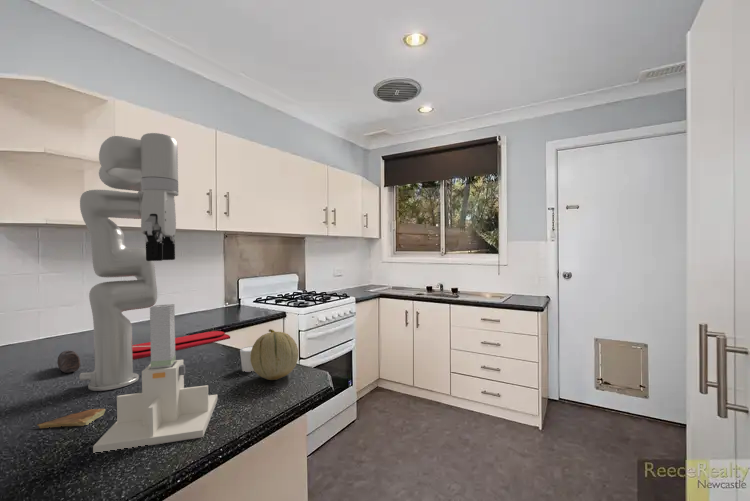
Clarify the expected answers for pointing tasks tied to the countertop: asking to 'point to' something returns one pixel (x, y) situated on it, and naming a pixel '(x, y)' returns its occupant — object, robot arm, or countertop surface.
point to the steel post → (162, 336)
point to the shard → (74, 419)
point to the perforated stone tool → (68, 361)
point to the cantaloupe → (274, 355)
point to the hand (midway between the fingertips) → (161, 260)
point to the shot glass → (246, 359)
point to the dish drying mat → (181, 343)
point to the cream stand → (159, 411)
